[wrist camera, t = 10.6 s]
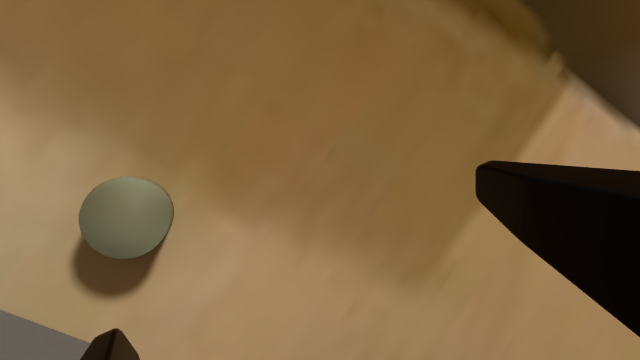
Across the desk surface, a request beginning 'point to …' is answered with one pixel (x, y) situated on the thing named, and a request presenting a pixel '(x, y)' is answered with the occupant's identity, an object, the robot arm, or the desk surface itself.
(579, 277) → the robot arm
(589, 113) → the desk surface
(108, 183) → the grey-green round piece
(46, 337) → the grey rectangular block
